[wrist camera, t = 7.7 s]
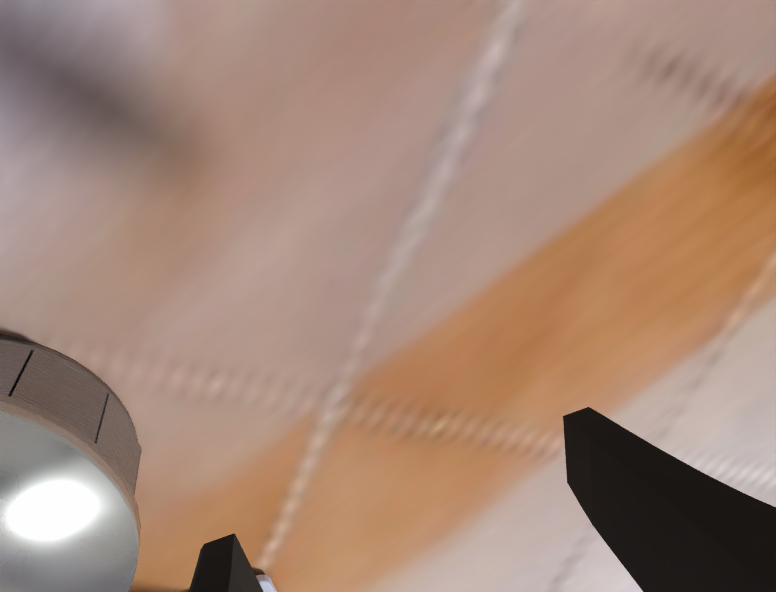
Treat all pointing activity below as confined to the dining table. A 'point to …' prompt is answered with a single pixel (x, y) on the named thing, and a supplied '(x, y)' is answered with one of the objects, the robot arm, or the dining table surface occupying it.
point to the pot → (70, 398)
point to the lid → (61, 508)
